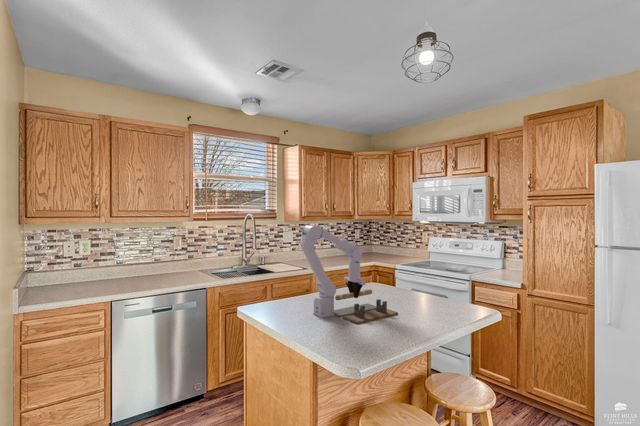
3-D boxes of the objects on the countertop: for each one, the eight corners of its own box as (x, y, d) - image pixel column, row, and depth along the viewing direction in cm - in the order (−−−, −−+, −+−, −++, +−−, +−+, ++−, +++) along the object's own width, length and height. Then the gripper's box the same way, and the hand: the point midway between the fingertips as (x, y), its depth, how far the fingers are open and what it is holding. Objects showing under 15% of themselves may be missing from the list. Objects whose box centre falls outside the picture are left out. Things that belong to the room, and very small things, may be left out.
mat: (339, 317, 159) (339, 315, 159) (328, 312, 167) (328, 311, 167) (379, 308, 174) (379, 307, 174) (367, 304, 182) (367, 303, 182)
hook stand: (356, 324, 149) (356, 309, 149) (342, 318, 157) (342, 304, 157) (397, 314, 164) (397, 301, 164) (383, 309, 172) (383, 296, 172)
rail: (338, 300, 163) (338, 295, 163) (335, 300, 165) (335, 294, 165) (372, 294, 176) (372, 289, 176) (369, 293, 178) (368, 288, 178)
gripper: (370, 271, 167) (370, 299, 167) (351, 267, 179) (351, 293, 179) (359, 272, 163) (359, 301, 163) (340, 268, 175) (340, 295, 175)
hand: (354, 297), depth 170 cm, fingers closed on rail, 2 cm apart
